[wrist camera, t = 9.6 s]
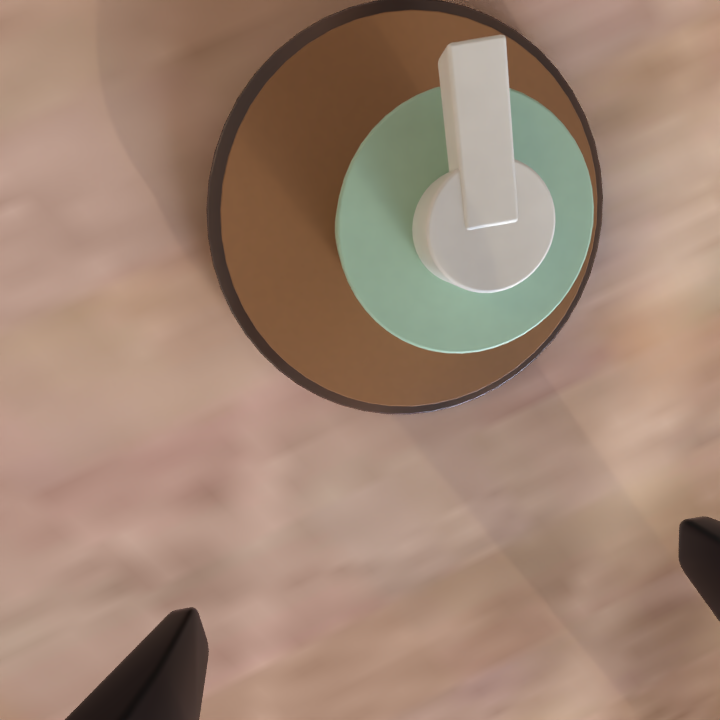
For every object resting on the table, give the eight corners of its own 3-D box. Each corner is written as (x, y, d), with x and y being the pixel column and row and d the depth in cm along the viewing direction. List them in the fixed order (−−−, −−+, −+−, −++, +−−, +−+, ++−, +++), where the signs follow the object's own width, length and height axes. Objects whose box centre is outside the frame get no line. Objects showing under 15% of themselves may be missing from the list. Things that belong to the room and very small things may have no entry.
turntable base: (584, -22, 16) (599, -38, 15) (594, 374, 21) (607, 382, 20) (166, 47, 16) (155, 35, 15) (260, 433, 20) (256, 443, 19)
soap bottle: (591, 369, 19) (821, 491, 10) (269, 425, 19) (213, 600, 10) (580, -11, 16) (925, -351, 7) (181, 55, 15) (-34, -197, 6)
